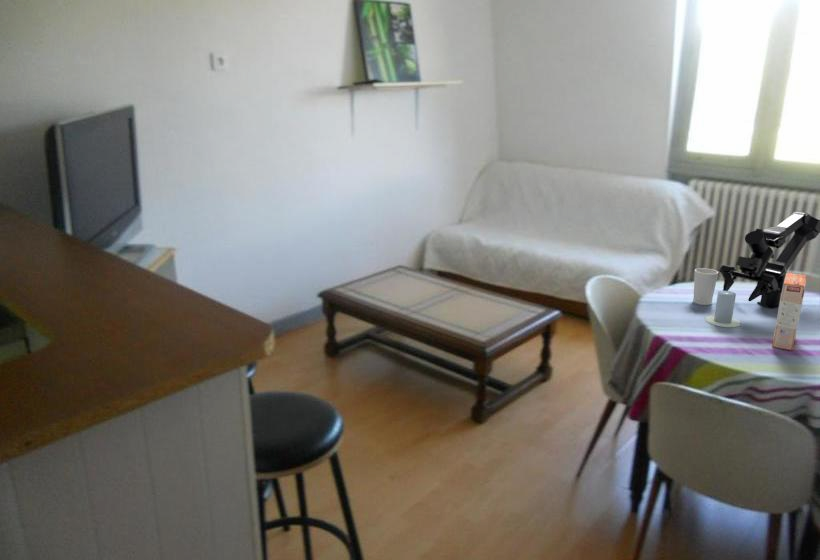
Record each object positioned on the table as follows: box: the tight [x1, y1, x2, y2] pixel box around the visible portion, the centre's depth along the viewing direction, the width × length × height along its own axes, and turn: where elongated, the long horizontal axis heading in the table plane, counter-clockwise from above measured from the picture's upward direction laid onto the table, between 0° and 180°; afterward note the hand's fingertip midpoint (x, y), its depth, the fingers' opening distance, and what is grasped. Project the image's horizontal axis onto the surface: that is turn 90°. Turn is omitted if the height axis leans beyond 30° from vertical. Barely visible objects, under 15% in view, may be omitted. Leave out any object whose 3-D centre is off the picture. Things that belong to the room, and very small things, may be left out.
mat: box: [704, 315, 741, 328], centre depth 224 cm, size 11×11×1 cm
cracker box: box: [772, 272, 807, 352], centre depth 203 cm, size 14×6×21 cm, turn 148°
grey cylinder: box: [713, 290, 737, 324], centre depth 222 cm, size 6×6×10 cm
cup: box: [692, 267, 719, 306], centre depth 242 cm, size 8×8×12 cm
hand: (736, 297), depth 225 cm, fingers open, 9 cm apart
